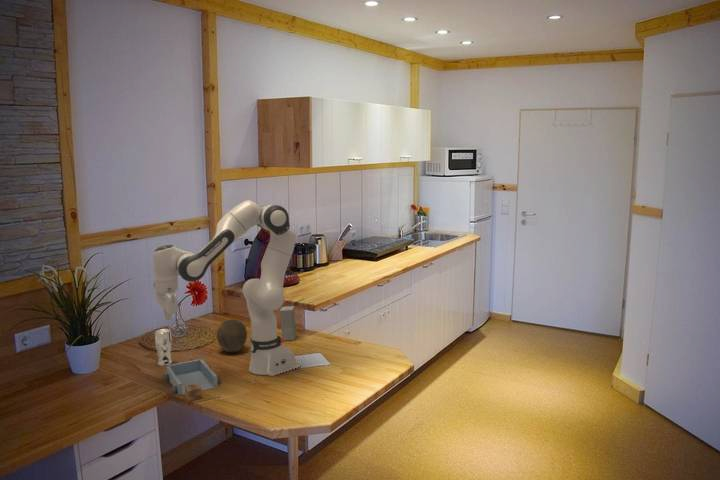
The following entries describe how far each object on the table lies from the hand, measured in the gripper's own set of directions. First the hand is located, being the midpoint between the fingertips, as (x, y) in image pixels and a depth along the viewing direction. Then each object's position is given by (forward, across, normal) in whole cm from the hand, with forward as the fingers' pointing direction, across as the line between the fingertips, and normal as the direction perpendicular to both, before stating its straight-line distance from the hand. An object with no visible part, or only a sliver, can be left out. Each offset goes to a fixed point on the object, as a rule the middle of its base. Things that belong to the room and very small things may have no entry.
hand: (168, 319), depth 231 cm
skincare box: (+27, +25, -64) cm, 74 cm away
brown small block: (+26, -22, -3) cm, 34 cm away
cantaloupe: (+27, +22, -34) cm, 49 cm away
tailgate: (+26, -18, -6) cm, 33 cm away
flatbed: (+27, -6, -6) cm, 28 cm away
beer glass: (+27, +24, -3) cm, 36 cm away
